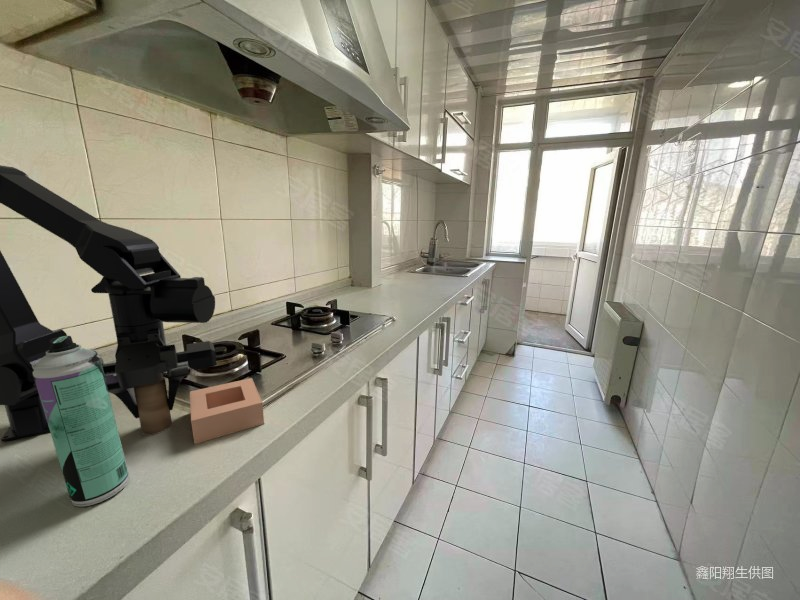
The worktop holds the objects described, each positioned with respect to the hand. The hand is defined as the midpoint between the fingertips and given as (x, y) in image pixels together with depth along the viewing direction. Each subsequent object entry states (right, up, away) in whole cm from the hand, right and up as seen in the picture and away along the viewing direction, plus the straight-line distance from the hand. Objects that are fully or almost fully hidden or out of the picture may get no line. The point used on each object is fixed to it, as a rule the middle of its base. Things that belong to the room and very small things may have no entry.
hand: (154, 413), depth 53 cm
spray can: (+2, -6, -12) cm, 13 cm away
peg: (0, -2, +1) cm, 2 cm away
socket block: (+10, -2, +3) cm, 11 cm away
